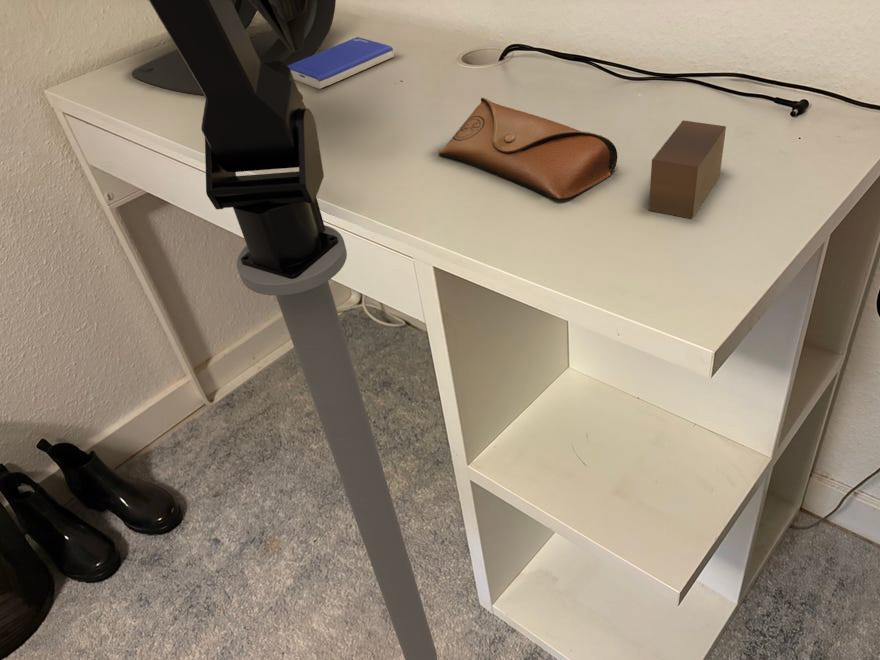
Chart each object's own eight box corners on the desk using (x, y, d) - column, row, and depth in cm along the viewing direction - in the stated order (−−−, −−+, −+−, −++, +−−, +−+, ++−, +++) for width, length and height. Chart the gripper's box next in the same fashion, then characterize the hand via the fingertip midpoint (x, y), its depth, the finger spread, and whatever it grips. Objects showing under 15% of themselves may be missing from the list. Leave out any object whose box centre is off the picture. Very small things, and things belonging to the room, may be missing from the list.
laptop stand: (354, 40, 108) (329, -80, 97) (233, 105, 94) (189, -27, 84) (235, 23, 120) (202, -86, 109) (113, 78, 106) (61, -41, 96)
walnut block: (692, 219, 65) (697, 166, 61) (648, 210, 66) (651, 159, 63) (719, 176, 70) (726, 125, 66) (678, 169, 71) (682, 119, 68)
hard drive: (355, 35, 105) (283, 65, 99) (392, 46, 100) (318, 78, 94) (358, 47, 106) (286, 77, 100) (394, 57, 101) (321, 90, 95)
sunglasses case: (430, 152, 78) (446, 87, 76) (474, 160, 83) (490, 99, 81) (564, 202, 68) (587, 129, 66) (603, 208, 73) (626, 140, 71)
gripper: (394, -164, 62) (422, 29, 72) (233, -159, 70) (280, 15, 80) (309, -136, 55) (353, 72, 66) (142, -133, 63) (206, 52, 74)
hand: (296, 50), depth 72 cm, fingers closed
